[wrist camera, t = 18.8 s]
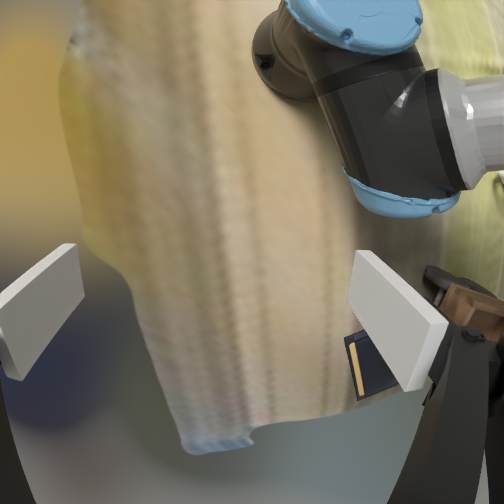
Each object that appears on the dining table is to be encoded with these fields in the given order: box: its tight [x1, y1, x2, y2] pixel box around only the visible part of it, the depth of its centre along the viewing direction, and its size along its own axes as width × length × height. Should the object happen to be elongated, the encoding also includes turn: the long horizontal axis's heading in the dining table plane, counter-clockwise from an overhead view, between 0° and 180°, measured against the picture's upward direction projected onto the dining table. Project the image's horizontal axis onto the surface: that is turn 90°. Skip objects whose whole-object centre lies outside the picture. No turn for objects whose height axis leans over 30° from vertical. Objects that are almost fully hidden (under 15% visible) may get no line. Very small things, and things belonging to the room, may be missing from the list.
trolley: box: [425, 265, 504, 341], centre depth 42 cm, size 10×19×27 cm, turn 72°
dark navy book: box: [344, 329, 399, 401], centre depth 58 cm, size 20×2×15 cm
